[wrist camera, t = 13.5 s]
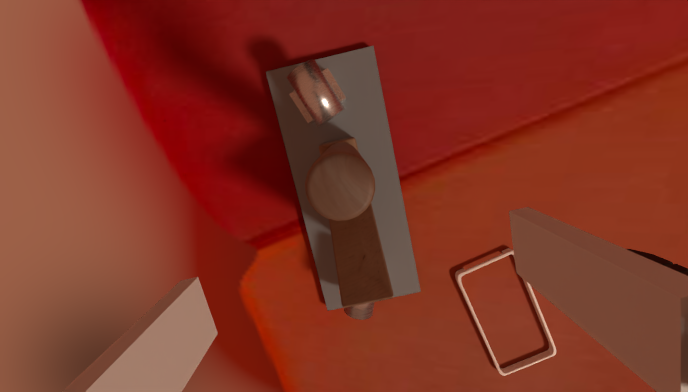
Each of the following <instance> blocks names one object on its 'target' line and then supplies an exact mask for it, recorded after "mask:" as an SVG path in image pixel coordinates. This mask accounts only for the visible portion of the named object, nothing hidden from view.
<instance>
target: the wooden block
mask: <svg viewBox="0 0 688 392" xmlns="http://www.w3.org/2000/svg"><path fill="white" fill-rule="evenodd" d="M319 151H320V157H319V158H318V159H317V160H316V161H315V162H314V163H313V165H312V166H311V168H310V169H309V171H308V173H307V177H306V181H305V191H306V196H307V198H308V201H309V203H310V205H311V206H312V207H313V208H314V209H315V211H316V212H317V213H319V214H320V215H322V216H324V217H325V218H328V219H329V224H330V230H331V237H332V243H333V250H334V257H335V263H336V270H337V277H338V283H339V290H340V297H341V303H342V306H343V307H344V308H346V307H351V306H356V305H361V304H366V303H371V302H376V301H381V300H386V299H391V298H393V290H392V286H391V282H390V277H389V273H388V269H387V265H386V261H385V257H384V253H383V249H382V245H381V241H380V237H379V233H378V229H377V224H376V220H375V216H374V212H373V208H372V204H371V202H372V200H373V197H374V193H375V178H374V176H373V173H372V170H371V168H370V167H369V166H368V164H367V163H366V161H365V160H364V159H363V157H362V156H361V155H360V153H359V152H358V147H357V143H356V139H355V138H354V137H348V138H344V139H340V140H335V141H331V142H327V143H323V144H321V145H320V146H319Z"/></svg>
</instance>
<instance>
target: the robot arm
mask: <svg viewBox="0 0 688 392" xmlns="http://www.w3.org/2000/svg"><path fill="white" fill-rule="evenodd" d="M509 215H510V224H511V232H512V241H513V249H514V257H515V266H516V273H517V274H518V275H519V276H521V277H522V278H523V279H524V280H525V281H526V282H528V283H529V284H530V285H531V286H532V287H534V288H535V289H536V290H537V291H538V292H539V293H541V294H542V295H543V296H544V297H545V298H547V299H548V300H549V301H550V302H551V303H552V304H554V305H555V306H556V307H557V308H558V309H560V310H561V311H562V312H563V313H564V314H565V315H567V316H568V317H569V318H570V319H571V320H573V321H574V322H575V323H576V324H577V325H579V326H580V327H581V328H582V329H583V330H584V331H586V332H587V333H588V334H589V335H590V336H592V337H593V338H594V339H595V340H596V341H597V342H599V343H600V344H601V345H602V346H603V347H605V348H606V349H607V350H608V351H609V352H610V353H612V354H613V355H614V356H615V357H616V358H618V359H619V360H620V361H621V362H622V363H624V364H625V365H626V366H627V367H628V368H629V369H631V370H632V371H633V372H634V373H635V374H637V375H638V376H639V377H640V378H641V379H642V380H644V381H645V382H646V383H647V384H648V385H650V386H651V387H652V388H653V389H654V390H655V391H657V392H688V269H687V268H685V267H682V266H680V265H678V264H673V263H672V262H670V261H668V260H665V259H663V258H660V257H658V256H656V255H653V254H649V253H645V252H640V251H636V250H632V249H624V248H622V247H620V246H617V245H615V244H613V243H610V242H608V241H606V240H603V239H601V238H599V237H596V236H594V235H592V234H589V233H587V232H585V231H583V230H580V229H578V228H576V227H573V226H571V225H569V224H566V223H564V222H562V221H559V220H557V219H555V218H552V217H550V216H548V215H545V214H543V213H541V212H538V211H536V210H534V209H531V208H529V207H526V208H521V209H516V210H512V211H509ZM216 335H217V330H216V327H215V324H214V321H213V319H212V316H211V313H210V310H209V307H208V304H207V301H206V299H205V296H204V293H203V290H202V287H201V284H200V281H199V279H198V277H196V278H192V279H187V280H182V281H180V282H179V283H178V284H177V285H176V286H175V287H173V288H172V289H171V290H170V291H169V292H168V293H167V294H166V295H165V296H164V297H163V298H162V299H161V300H160V301H158V302H157V303H156V304H155V305H154V306H153V307H152V308H151V309H150V310H149V311H148V312H147V313H146V314H145V315H144V316H142V317H141V318H140V319H139V320H138V321H137V322H136V323H135V324H134V325H133V326H132V327H131V328H130V329H128V330H127V331H126V332H125V333H124V334H123V335H122V336H121V337H120V338H119V339H118V340H117V341H116V342H115V343H113V344H112V345H111V346H110V347H109V348H108V349H107V350H106V351H105V352H104V353H103V354H102V355H101V356H99V358H97V360H95V361H94V362H93V363H92V364H91V365H90V366H89V367H88V368H87V369H86V370H84V371H83V373H81V374H80V375H79V376H78V377H77V378H76V379H75V380H74V381H73V382H72V383H71V384H69V385H68V386H67V387H66V388H65V389H64V390H63V391H62V392H182V390H183V389H184V387H185V386H186V384H187V382H188V381H189V379H190V378H191V376H192V374H193V373H194V371H195V369H196V368H197V366H198V364H199V363H200V361H201V360H202V358H203V356H204V355H205V353H206V352H207V350H208V348H209V347H210V345H211V344H212V342H213V340H214V339H215V337H216Z"/></svg>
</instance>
